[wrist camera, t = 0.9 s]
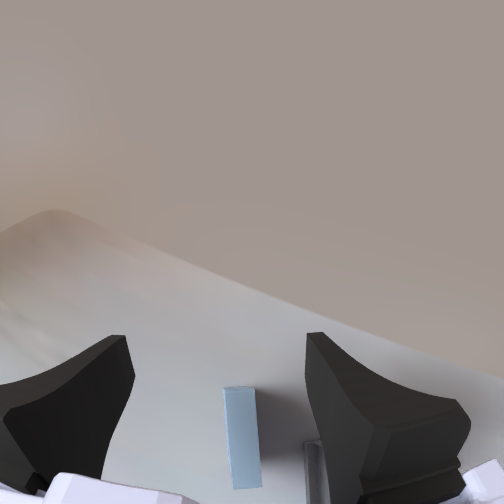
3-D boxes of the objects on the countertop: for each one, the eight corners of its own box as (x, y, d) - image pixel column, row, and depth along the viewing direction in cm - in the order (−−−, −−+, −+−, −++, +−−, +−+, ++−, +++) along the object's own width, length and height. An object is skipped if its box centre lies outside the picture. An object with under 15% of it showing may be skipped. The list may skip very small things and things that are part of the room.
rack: (423, 489, 20) (449, 498, 16) (307, 524, 19) (322, 543, 15) (422, 413, 23) (449, 414, 19) (303, 441, 22) (318, 451, 18)
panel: (249, 459, 21) (262, 487, 14) (228, 461, 21) (233, 489, 14) (243, 386, 23) (254, 388, 17) (222, 387, 23) (225, 390, 16)
